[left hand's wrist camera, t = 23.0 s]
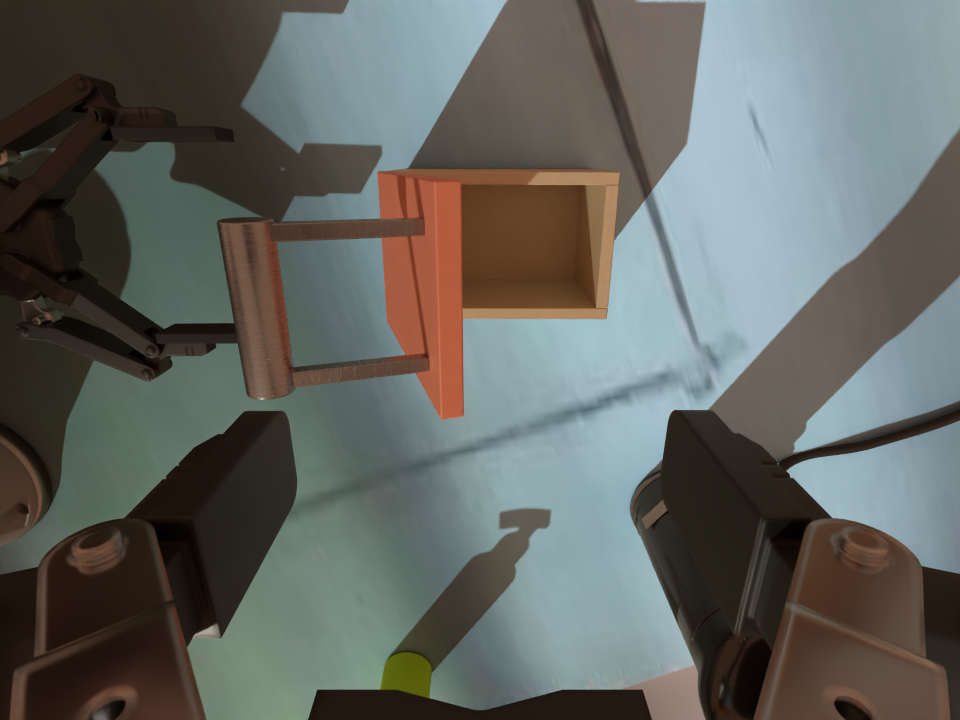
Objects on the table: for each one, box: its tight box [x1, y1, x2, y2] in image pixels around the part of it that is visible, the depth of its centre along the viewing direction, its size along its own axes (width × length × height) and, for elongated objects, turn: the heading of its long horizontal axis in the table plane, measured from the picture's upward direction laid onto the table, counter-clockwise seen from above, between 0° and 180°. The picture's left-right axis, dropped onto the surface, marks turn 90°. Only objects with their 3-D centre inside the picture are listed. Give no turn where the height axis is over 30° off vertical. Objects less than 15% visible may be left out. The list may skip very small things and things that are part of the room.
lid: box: [217, 171, 464, 419], centre depth 27 cm, size 16×10×9 cm
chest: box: [393, 168, 620, 319], centre depth 41 cm, size 15×10×10 cm, turn 90°
